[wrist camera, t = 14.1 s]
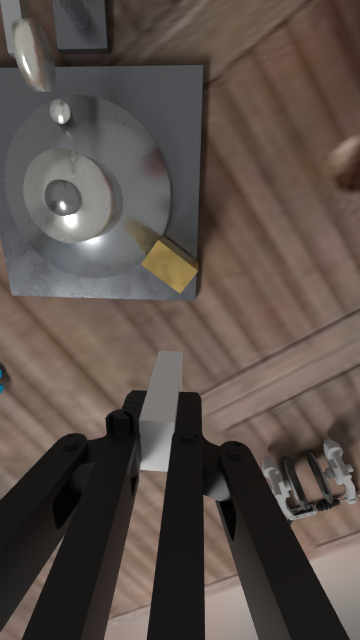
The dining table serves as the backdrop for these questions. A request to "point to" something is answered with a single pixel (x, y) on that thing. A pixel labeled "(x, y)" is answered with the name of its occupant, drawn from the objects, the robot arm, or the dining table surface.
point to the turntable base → (168, 133)
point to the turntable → (134, 179)
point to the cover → (72, 196)
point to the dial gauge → (71, 33)
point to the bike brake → (334, 471)
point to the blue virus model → (0, 386)
